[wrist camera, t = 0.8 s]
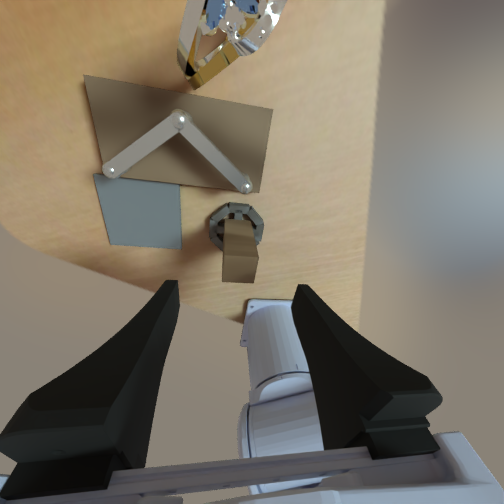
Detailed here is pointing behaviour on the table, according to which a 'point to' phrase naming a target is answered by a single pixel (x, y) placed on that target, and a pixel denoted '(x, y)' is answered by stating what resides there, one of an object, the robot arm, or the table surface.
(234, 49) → the ring
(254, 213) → the ring wand
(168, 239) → the mat
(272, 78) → the table surface
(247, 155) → the base
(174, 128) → the bent wire
